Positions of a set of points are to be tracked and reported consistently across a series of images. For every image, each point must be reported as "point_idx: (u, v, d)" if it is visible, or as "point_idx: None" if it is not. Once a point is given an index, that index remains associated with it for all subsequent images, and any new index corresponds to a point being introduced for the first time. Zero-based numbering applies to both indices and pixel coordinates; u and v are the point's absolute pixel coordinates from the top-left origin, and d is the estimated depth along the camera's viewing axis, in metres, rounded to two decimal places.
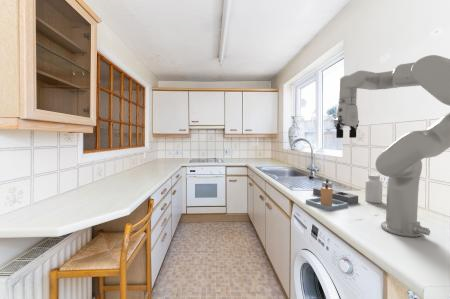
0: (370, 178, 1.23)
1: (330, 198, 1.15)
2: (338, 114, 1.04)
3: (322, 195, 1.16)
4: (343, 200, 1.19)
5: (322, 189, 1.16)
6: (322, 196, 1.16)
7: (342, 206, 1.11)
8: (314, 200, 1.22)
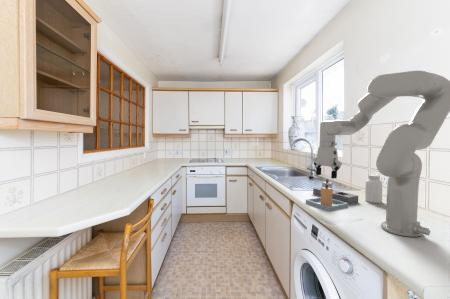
0: (370, 178, 1.23)
1: (330, 198, 1.15)
2: (333, 156, 1.10)
3: (322, 195, 1.16)
4: (343, 200, 1.19)
5: (322, 189, 1.16)
6: (322, 196, 1.16)
7: (342, 206, 1.11)
8: (314, 200, 1.22)
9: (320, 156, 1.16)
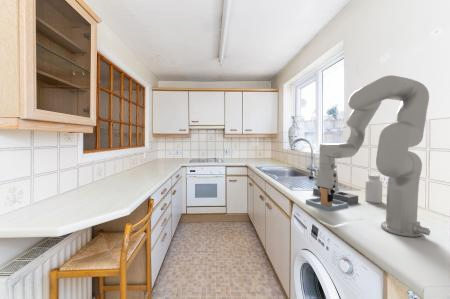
0: (370, 178, 1.23)
1: None
2: (333, 179, 1.11)
3: (322, 195, 1.16)
4: (343, 200, 1.19)
5: (322, 189, 1.16)
6: (322, 196, 1.16)
7: (342, 206, 1.11)
8: (314, 200, 1.22)
9: (320, 178, 1.16)
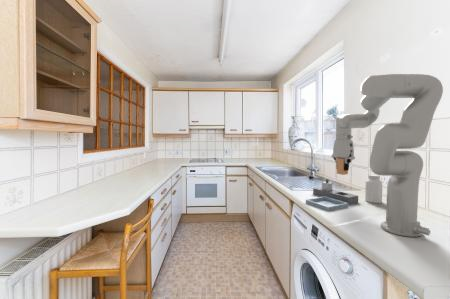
0: (370, 178, 1.23)
1: None
2: (350, 148, 1.18)
3: (338, 165, 1.24)
4: (343, 200, 1.19)
5: (338, 159, 1.23)
6: (338, 166, 1.24)
7: (342, 206, 1.11)
8: (314, 200, 1.22)
9: (337, 149, 1.24)
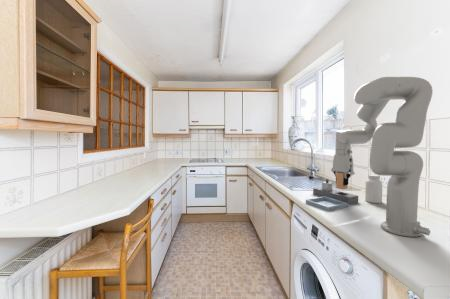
0: (370, 178, 1.23)
1: None
2: (349, 163, 1.19)
3: (338, 179, 1.24)
4: (343, 200, 1.19)
5: (338, 173, 1.24)
6: (338, 180, 1.24)
7: (342, 206, 1.11)
8: (314, 200, 1.22)
9: (336, 163, 1.24)
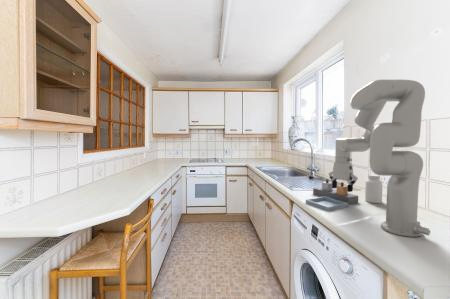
0: (370, 178, 1.23)
1: None
2: (349, 171, 1.19)
3: (338, 192, 1.24)
4: (343, 200, 1.19)
5: (338, 187, 1.24)
6: (338, 193, 1.24)
7: (342, 206, 1.11)
8: (314, 200, 1.22)
9: (336, 171, 1.25)
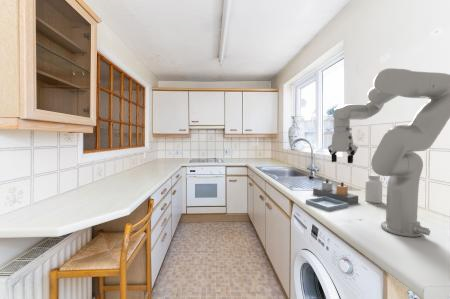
0: (370, 178, 1.23)
1: None
2: (348, 141, 1.12)
3: (338, 192, 1.24)
4: (343, 200, 1.19)
5: (338, 187, 1.24)
6: (338, 193, 1.24)
7: (342, 206, 1.11)
8: (314, 200, 1.22)
9: (335, 142, 1.17)
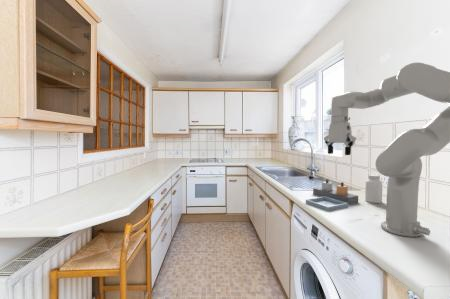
0: (370, 178, 1.23)
1: None
2: (347, 131, 1.04)
3: (338, 192, 1.24)
4: (343, 200, 1.19)
5: (338, 187, 1.24)
6: (338, 193, 1.24)
7: (342, 206, 1.11)
8: (314, 200, 1.22)
9: (332, 133, 1.10)
